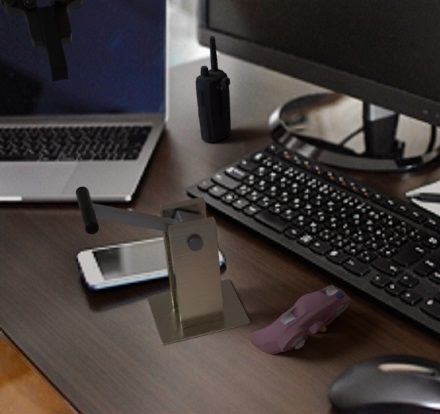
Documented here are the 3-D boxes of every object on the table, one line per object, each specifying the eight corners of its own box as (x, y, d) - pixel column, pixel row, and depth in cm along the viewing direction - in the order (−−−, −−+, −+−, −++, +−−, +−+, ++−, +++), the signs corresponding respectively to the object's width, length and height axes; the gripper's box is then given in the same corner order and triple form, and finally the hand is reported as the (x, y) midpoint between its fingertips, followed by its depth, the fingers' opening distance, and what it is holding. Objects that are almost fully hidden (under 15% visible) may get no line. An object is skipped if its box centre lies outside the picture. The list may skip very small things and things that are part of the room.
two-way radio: (218, 127, 126) (211, 30, 118) (243, 133, 124) (237, 36, 116) (195, 141, 122) (186, 42, 114) (220, 148, 120) (212, 48, 112)
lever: (81, 239, 73) (89, 215, 73) (72, 201, 79) (79, 179, 78) (206, 260, 79) (215, 239, 78) (189, 224, 85) (197, 203, 84)
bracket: (163, 352, 82) (148, 244, 75) (147, 306, 88) (132, 202, 82) (251, 331, 85) (244, 224, 78) (229, 287, 91) (221, 185, 85)
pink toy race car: (273, 379, 81) (294, 343, 76) (243, 343, 82) (262, 306, 77) (341, 330, 87) (365, 295, 82) (313, 298, 88) (335, 261, 83)
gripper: (-63, -160, 79) (-18, 67, 74) (77, -169, 83) (129, 47, 78) (-50, -111, 86) (-8, 100, 81) (79, -121, 90) (126, 80, 85)
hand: (59, 74), depth 80 cm, fingers closed
